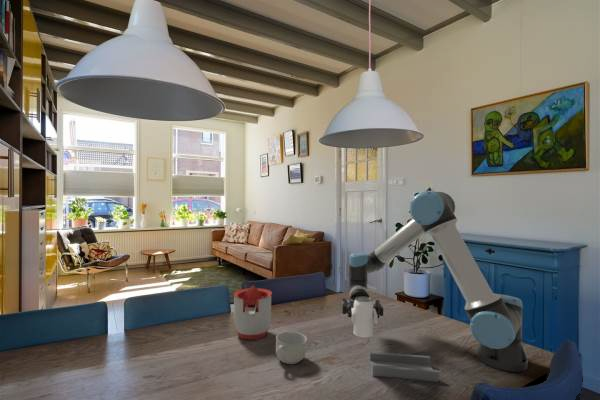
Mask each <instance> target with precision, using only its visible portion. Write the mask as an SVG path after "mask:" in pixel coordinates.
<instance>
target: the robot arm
mask: <svg viewBox="0 0 600 400" xmlns="http://www.w3.org/2000/svg"><path fill="white" fill-rule="evenodd" d="M455 212H456V203H455V201H454V199H453V197H452V196H450V195H449V194H448V193H445V192H443V191H434V190H424V191H421V192H419V193H417V194H416V195H415V196H413V198H412V200H411V201H410V203H409V213H410V216H411V219H410V220H409V221H408V222H407V223H405V224H404V225H403V226H402V227H400V228H399V229H398V230H397V231H396V232H394V233H393V234H392V235H391V236H390V237H388V238H387V239H386V240H385V241H384V242H382V243H381V244H380V245H379V246H378V247H376V248H375V249H374V250H373V251H372V252H370V253H369V254H367V253H365V252H352V253H350V254H349V261H348V264H349V268H348V269H349V270H348V271H349V272H348V273H349V274H348V293H349V300H348V299H346V298H342V314H343V315H346V314H347V317H348V318H351V323H354V320H355V314H354V301H355V298H356V297H360V296H364V297H369V298H371V297H370V294H369V291H368V275H369V274H371V273H374V272H379V271H380V270H382V269H383V268H384V267H385V265H386V264H388V262H390V261H391V260H393V259H394V258H395V257H396V256H398V255H399V254H400V253H401V252H402V251H404V250H405V249H406V248H408V247H409V246H411V245H412V244H413V243H414V242H416V241H417V240H418V239H419V238H421V237H423V235H425V234H426V235H428V236H431V237H432V240H433V241H434V243H435V246H436V248H437V249H438V251H439V252H440V255H441V257H442V259H443V260H444V263H445V264H446V266H447V268H448V269H449V272H450V273H451V276H452V277H453V279H454V282H455V283H456V285H457V287H458V288H459V291H460V292H461V295H462V297H463V298H464V300H465V305H464V310H465V313H466V314H467V316H468V318H469V320H470V323H469V326H470V332H471V335H472V336H473V337H474V339H475V340H476V341H477V342H479V344H478V347H477V350H476V356H477V359H478V360H479V361H480V362H481V363H484V364H485V365H487V366H489V367H491V368H494V369H497V370H501V371H505V372H513V373H514V372H515V373H519V372H524V371H527V369H528V368H529V367H528V363H529V359H528V358H527V354H526V351H525V349H524V346H523V310H524V306H523V301H522V300H521V299H520V298H519V297H516V296H511V295H508V294H507V295H506V294H499V293H494V292H493V290H492V289H491V287H490V285H489V283H488V281H487V280H486V278H485V276H484V275H483V273H482V271H481V269H480V267H479V266H478V264H477V262H476V260H475V258H474V256H473V255H472V253H471V252H470V250H469V248H468V246H467V244H466V242H465V240H464V239H463V237H462V235H461V233H460V231H459V230H458V228H457V226H456V224H457V222H458V219H457V217H456V216H455ZM372 302H373V324H375V325H378V319H380V317H384V307H383V305H381V303H380V300H379V299H376V300H374V301H372Z"/></svg>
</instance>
